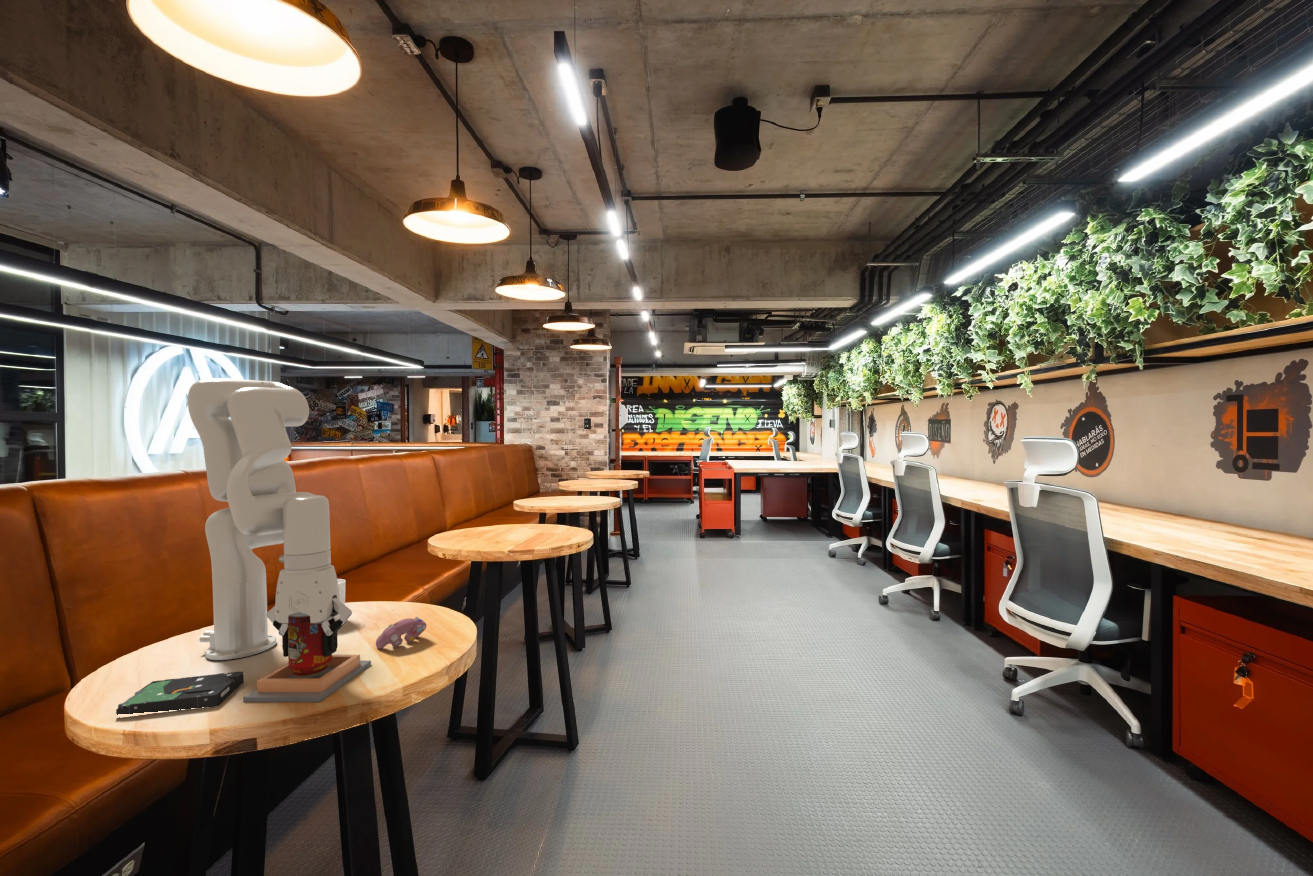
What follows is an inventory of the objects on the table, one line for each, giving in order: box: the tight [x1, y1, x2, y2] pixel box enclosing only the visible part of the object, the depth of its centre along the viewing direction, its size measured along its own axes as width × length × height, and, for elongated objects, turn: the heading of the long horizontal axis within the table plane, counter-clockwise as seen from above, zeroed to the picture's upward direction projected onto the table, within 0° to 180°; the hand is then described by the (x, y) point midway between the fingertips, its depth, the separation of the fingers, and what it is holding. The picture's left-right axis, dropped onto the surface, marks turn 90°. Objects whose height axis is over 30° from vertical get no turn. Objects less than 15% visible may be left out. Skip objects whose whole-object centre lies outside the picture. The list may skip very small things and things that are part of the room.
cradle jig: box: [242, 654, 372, 703], centre depth 107 cm, size 14×16×3 cm
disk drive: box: [115, 671, 245, 715], centre depth 101 cm, size 10×3×15 cm
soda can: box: [287, 612, 333, 677], centre depth 107 cm, size 7×7×12 cm
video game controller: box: [375, 616, 427, 649], centre depth 125 cm, size 10×5×7 cm, turn 144°
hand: (310, 653), depth 107 cm, fingers closed on soda can, 7 cm apart
